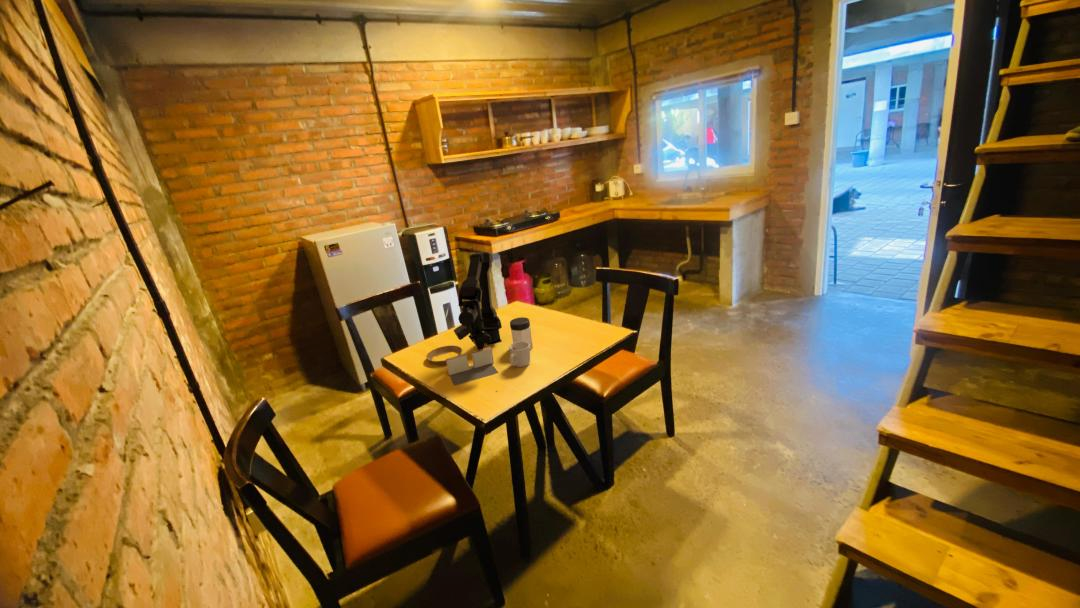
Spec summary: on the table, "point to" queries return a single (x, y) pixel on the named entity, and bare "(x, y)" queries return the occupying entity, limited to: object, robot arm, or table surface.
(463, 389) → the table surface
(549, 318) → the table surface
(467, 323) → the robot arm
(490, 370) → the mat
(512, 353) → the cup
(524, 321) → the jar
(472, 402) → the table surface
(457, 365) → the tile
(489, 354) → the tile
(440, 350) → the brown ring
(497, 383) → the table surface
